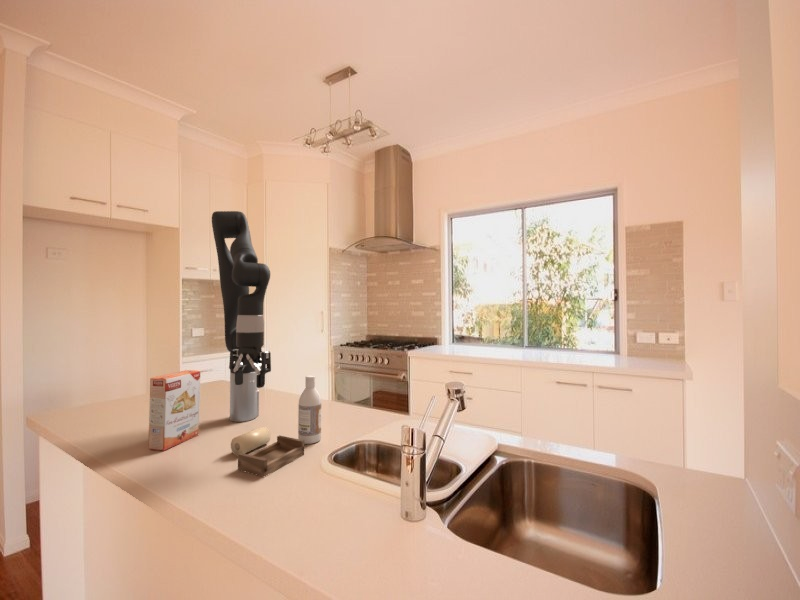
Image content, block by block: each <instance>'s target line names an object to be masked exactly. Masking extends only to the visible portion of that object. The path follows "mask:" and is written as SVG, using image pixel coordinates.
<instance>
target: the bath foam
mask: <svg viewBox="0 0 800 600" xmlns="http://www.w3.org/2000/svg"><path fill="white" fill-rule="evenodd" d="M304 387H305V388H304V390H303V391H302V392H301V394H300V397H299V399H298V412H297V413H298V415H297V416H298V421H297V422H298V423H297V424H298V425H297V426H298V427H297V428H298V431H297V434H298V436H297V437H298V438H297V439H299V440H304V445H311V444H312V445H313V444H315V443H318V442H320V441H321V439H322V398H321V397H322V396H321V395H320V393H319V391H318V390H317V388H316V376H315V375H306V376H305V386H304Z"/></svg>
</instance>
